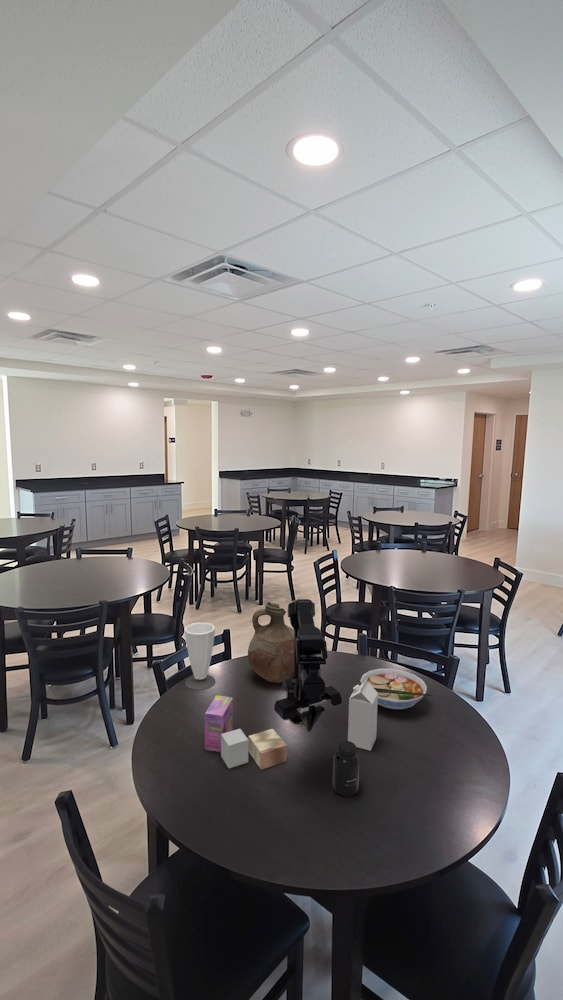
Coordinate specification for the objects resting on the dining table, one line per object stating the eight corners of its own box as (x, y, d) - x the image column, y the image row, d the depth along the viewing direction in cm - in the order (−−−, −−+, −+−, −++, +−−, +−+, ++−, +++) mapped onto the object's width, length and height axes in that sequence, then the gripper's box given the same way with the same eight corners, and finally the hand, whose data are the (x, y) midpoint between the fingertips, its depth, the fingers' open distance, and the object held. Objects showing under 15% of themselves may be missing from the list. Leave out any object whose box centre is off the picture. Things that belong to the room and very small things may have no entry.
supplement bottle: (352, 801, 123) (353, 757, 122) (328, 790, 127) (329, 748, 125) (362, 785, 129) (363, 743, 127) (339, 775, 132) (340, 735, 131)
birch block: (286, 761, 138) (272, 743, 146) (286, 745, 137) (272, 728, 145) (261, 769, 134) (248, 751, 142) (261, 753, 134) (248, 735, 142)
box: (222, 753, 141) (222, 715, 140) (204, 750, 143) (204, 713, 141) (233, 732, 151) (233, 696, 150) (216, 729, 153) (215, 694, 151)
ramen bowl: (425, 690, 178) (426, 669, 177) (433, 725, 156) (434, 702, 155) (357, 683, 183) (357, 663, 182) (355, 717, 160) (356, 694, 159)
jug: (310, 689, 178) (311, 611, 174) (252, 695, 173) (252, 615, 169) (295, 663, 199) (296, 593, 195) (244, 668, 194) (244, 596, 190)
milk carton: (376, 738, 149) (378, 680, 147) (370, 751, 143) (372, 691, 140) (354, 732, 152) (355, 675, 150) (347, 745, 146) (349, 686, 143)
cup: (213, 690, 177) (212, 634, 174) (181, 689, 177) (181, 633, 174) (217, 675, 188) (217, 622, 185) (188, 674, 188) (187, 621, 185)
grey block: (240, 750, 143) (240, 728, 142) (248, 762, 137) (248, 739, 137) (221, 756, 140) (221, 734, 139) (228, 768, 135) (228, 745, 134)
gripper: (322, 658, 142) (321, 708, 144) (265, 672, 133) (265, 724, 135) (344, 675, 132) (342, 727, 134) (284, 690, 124) (283, 747, 126)
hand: (308, 730), depth 133 cm, fingers closed
